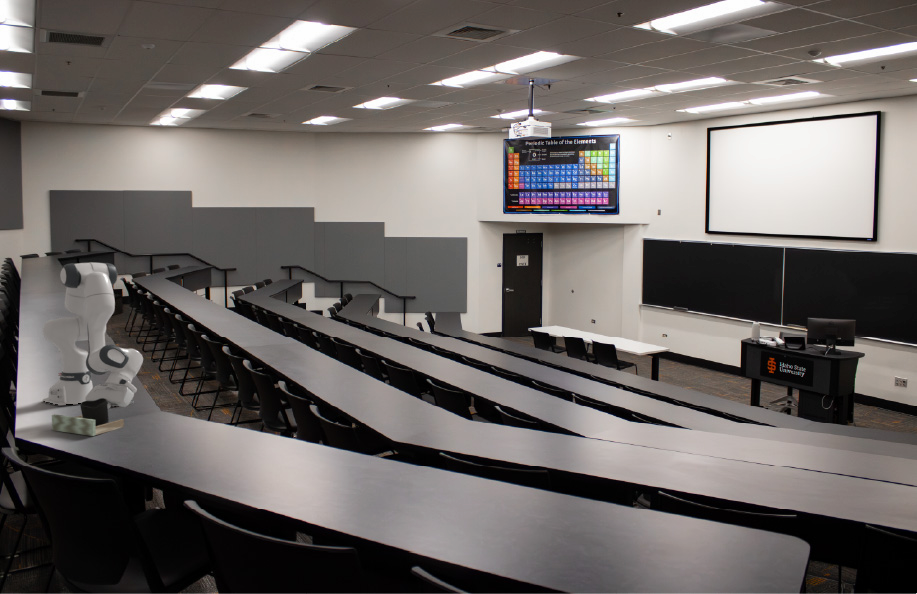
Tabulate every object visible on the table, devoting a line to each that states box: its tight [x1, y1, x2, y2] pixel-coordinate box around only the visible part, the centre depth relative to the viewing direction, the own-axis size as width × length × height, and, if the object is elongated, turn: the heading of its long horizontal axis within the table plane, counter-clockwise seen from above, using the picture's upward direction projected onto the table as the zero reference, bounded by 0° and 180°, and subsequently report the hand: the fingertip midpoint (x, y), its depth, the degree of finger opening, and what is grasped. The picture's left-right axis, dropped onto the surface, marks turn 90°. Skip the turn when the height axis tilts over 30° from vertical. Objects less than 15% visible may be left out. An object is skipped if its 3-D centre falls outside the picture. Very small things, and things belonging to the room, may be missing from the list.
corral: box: [51, 414, 125, 437], centre depth 273 cm, size 21×15×6 cm
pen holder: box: [79, 398, 110, 426], centre depth 275 cm, size 9×9×10 cm
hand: (98, 413), depth 277 cm, fingers closed, pressing on pen holder
